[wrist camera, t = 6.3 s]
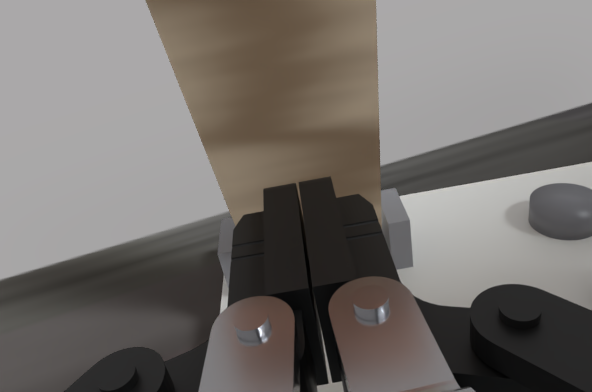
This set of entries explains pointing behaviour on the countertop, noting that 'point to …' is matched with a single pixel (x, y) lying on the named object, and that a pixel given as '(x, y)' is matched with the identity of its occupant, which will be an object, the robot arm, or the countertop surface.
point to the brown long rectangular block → (279, 92)
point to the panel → (482, 239)
